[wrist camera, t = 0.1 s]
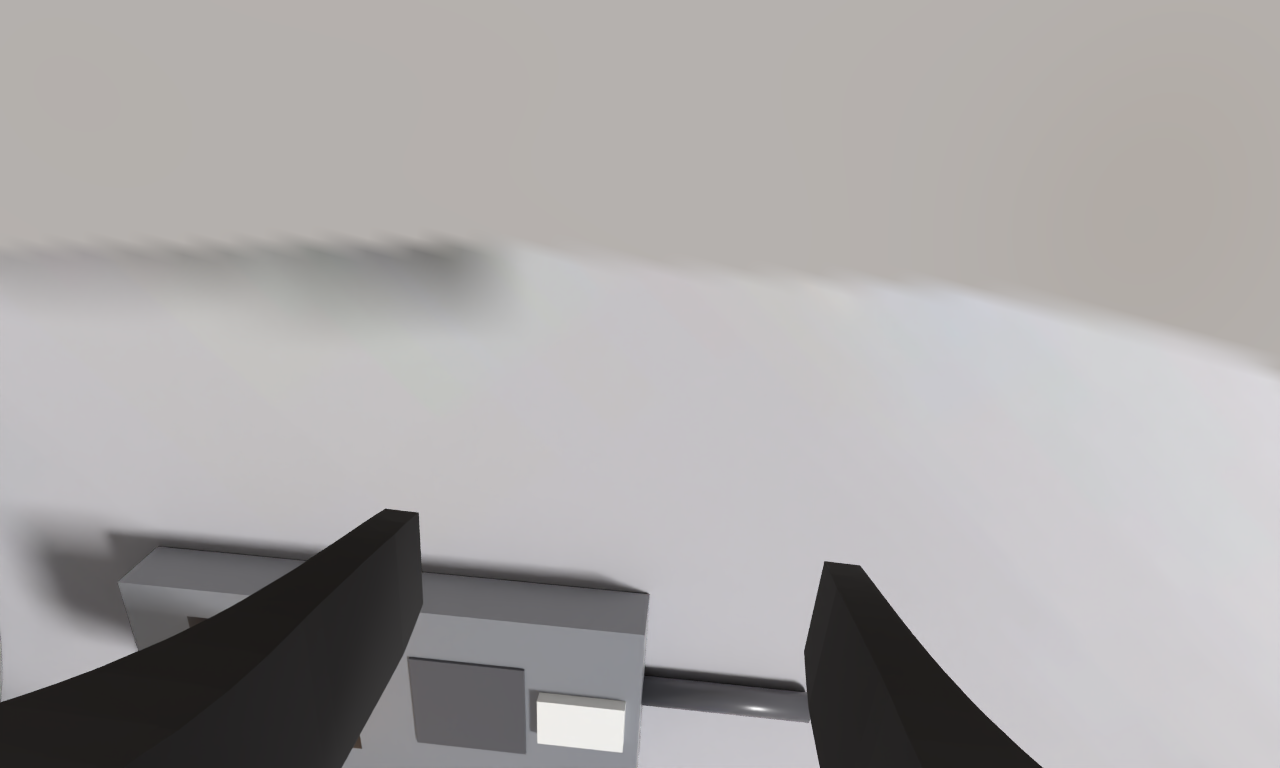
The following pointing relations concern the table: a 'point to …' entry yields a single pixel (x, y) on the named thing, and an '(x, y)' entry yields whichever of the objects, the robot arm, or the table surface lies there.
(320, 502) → the table surface
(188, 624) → the power strip
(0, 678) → the hip flask
